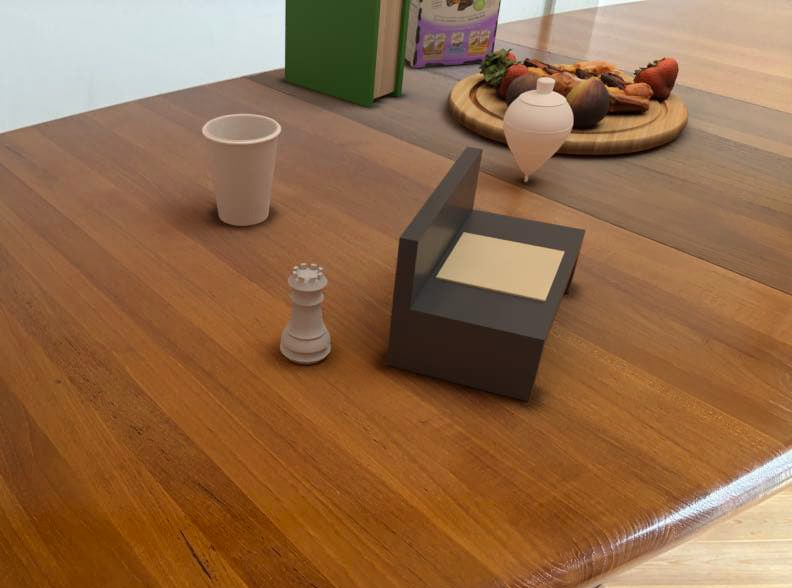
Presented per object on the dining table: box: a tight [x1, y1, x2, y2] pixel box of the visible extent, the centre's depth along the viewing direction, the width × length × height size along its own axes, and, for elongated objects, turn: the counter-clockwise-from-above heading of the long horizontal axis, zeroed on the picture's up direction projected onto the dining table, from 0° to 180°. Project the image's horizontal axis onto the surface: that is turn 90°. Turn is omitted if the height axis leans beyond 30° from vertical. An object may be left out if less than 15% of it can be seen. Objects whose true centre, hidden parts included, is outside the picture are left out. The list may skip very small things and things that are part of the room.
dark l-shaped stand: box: [385, 146, 586, 403], centre depth 71 cm, size 12×20×12 cm, turn 154°
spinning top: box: [503, 77, 573, 183], centre depth 95 cm, size 8×8×12 cm
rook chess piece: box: [279, 262, 332, 365], centre depth 69 cm, size 4×4×8 cm
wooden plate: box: [447, 48, 689, 156], centre depth 114 cm, size 32×32×8 cm
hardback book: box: [284, 0, 410, 108], centre depth 120 cm, size 18×7×24 cm, turn 42°
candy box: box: [405, 0, 502, 69], centre depth 132 cm, size 14×6×16 cm, turn 100°
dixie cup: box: [201, 113, 282, 227], centre depth 90 cm, size 8×8×10 cm
